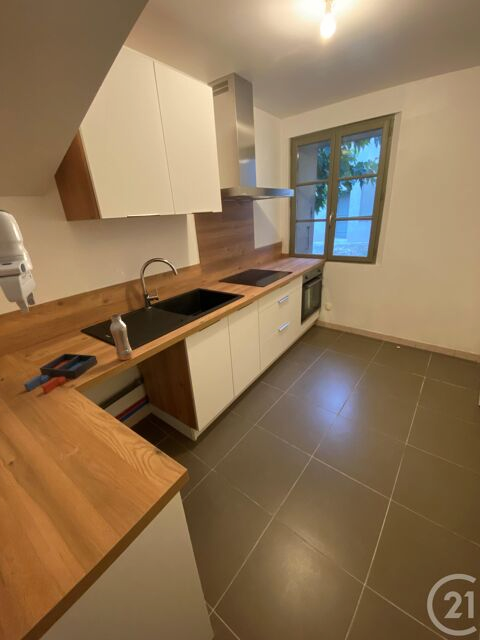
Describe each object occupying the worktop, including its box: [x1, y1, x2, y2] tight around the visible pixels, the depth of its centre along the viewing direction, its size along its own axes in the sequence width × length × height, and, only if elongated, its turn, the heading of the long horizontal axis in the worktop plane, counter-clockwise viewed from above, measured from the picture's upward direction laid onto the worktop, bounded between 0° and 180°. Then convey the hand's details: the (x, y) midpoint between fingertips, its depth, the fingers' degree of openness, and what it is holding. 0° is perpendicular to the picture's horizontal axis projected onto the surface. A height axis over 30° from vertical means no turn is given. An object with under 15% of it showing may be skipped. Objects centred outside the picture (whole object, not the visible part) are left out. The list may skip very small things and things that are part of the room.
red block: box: [41, 377, 67, 394], centre depth 97 cm, size 8×4×3 cm, turn 168°
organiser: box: [39, 353, 98, 380], centre depth 108 cm, size 16×12×4 cm
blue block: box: [23, 374, 50, 392], centre depth 99 cm, size 8×4×3 cm, turn 168°
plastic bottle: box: [109, 313, 133, 361], centre depth 112 cm, size 6×7×20 cm
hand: (29, 308), depth 84 cm, fingers open, 8 cm apart
